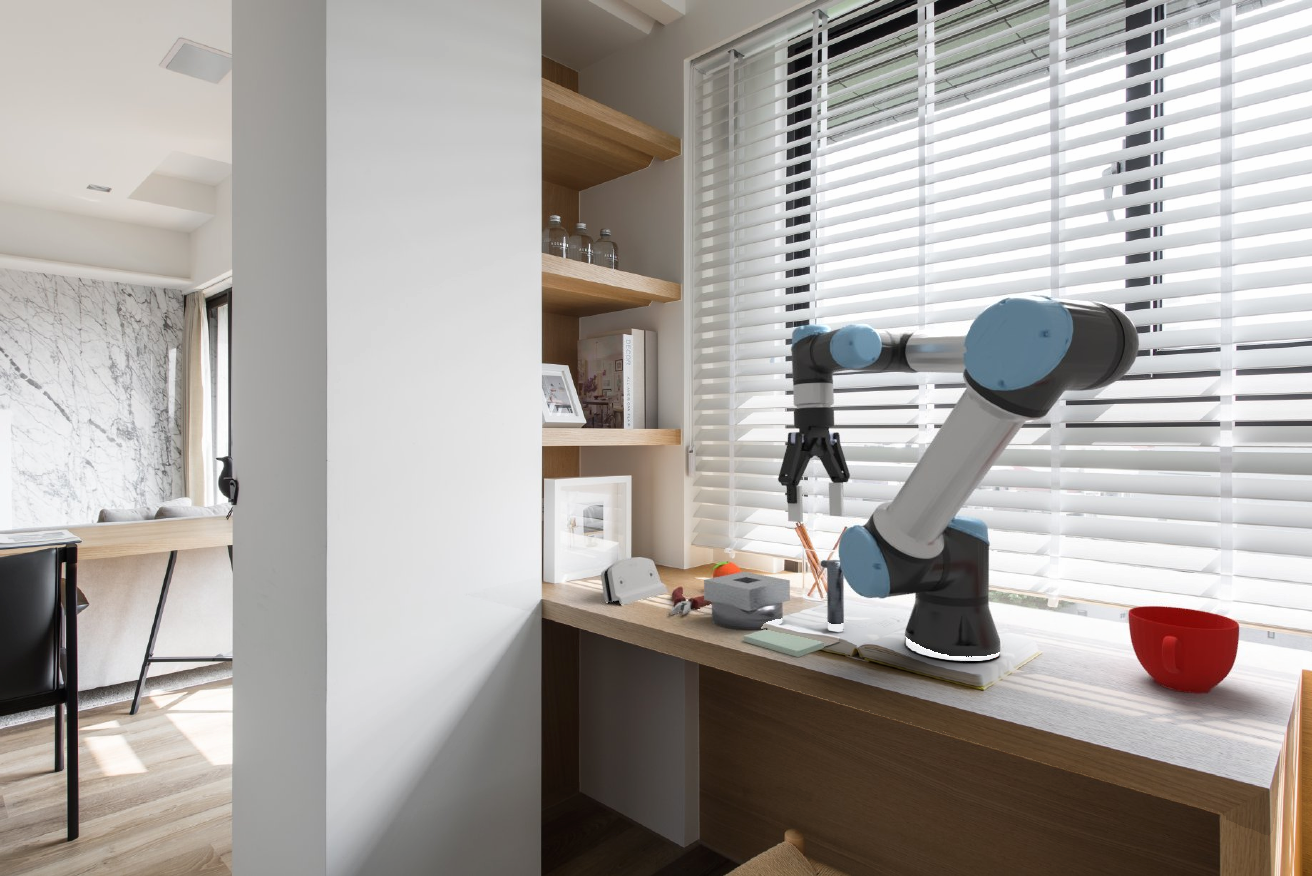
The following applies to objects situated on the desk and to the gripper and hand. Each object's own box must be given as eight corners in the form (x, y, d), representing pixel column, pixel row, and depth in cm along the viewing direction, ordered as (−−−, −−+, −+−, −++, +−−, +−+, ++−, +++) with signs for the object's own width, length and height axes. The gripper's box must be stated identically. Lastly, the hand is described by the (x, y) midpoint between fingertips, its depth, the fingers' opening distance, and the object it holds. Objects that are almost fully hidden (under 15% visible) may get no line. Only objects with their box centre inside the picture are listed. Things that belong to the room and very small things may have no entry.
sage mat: (839, 642, 124) (839, 636, 124) (797, 657, 116) (797, 651, 116) (786, 628, 133) (786, 623, 133) (743, 641, 125) (743, 635, 125)
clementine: (719, 596, 159) (718, 565, 159) (703, 590, 166) (703, 560, 166) (748, 592, 163) (748, 562, 163) (732, 587, 169) (731, 557, 169)
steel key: (854, 632, 130) (854, 562, 130) (845, 635, 129) (845, 564, 128) (826, 625, 135) (825, 558, 135) (816, 628, 133) (816, 560, 133)
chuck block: (797, 620, 139) (796, 580, 139) (750, 634, 130) (749, 591, 129) (744, 607, 149) (744, 570, 149) (697, 619, 140) (697, 579, 140)
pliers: (649, 618, 143) (649, 605, 143) (677, 596, 163) (677, 585, 162) (703, 622, 140) (703, 609, 140) (725, 599, 159) (725, 588, 159)
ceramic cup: (1112, 692, 100) (1112, 622, 100) (1139, 664, 112) (1139, 601, 111) (1228, 718, 90) (1228, 641, 90) (1244, 684, 102) (1244, 616, 102)
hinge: (621, 606, 151) (609, 561, 153) (606, 610, 154) (594, 566, 156) (668, 592, 164) (657, 551, 166) (654, 596, 167) (643, 555, 169)
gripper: (833, 410, 145) (836, 512, 144) (756, 406, 128) (760, 522, 127) (865, 407, 139) (868, 514, 139) (790, 403, 122) (794, 525, 122)
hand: (816, 518), depth 133 cm, fingers open, 13 cm apart
